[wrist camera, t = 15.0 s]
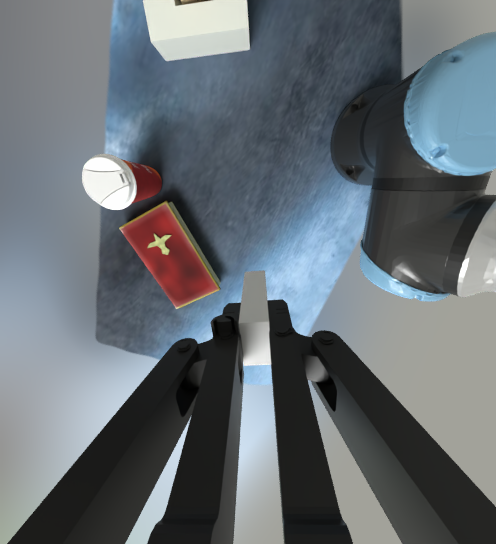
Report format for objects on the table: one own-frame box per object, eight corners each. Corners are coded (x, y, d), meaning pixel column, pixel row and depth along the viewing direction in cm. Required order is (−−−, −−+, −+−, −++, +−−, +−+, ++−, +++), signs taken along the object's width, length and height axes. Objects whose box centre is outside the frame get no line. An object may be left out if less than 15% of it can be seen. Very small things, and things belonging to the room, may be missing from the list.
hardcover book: (180, 301, 56) (174, 310, 53) (127, 224, 50) (116, 228, 46) (222, 282, 54) (220, 290, 50) (173, 198, 47) (165, 200, 43)
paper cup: (158, 155, 44) (117, 146, 31) (173, 196, 46) (140, 203, 34) (121, 166, 45) (66, 161, 32) (138, 205, 47) (93, 216, 34)
